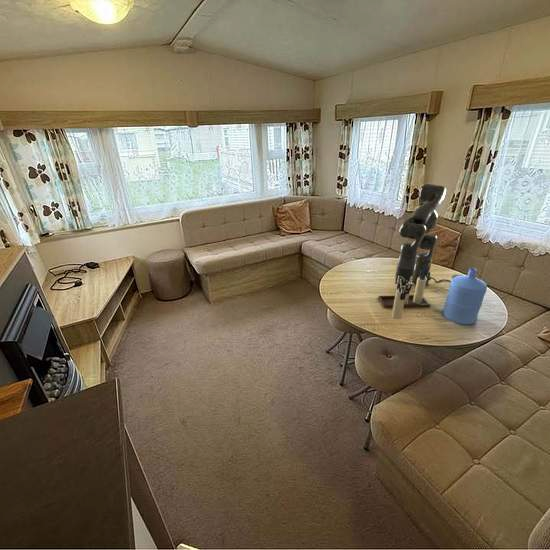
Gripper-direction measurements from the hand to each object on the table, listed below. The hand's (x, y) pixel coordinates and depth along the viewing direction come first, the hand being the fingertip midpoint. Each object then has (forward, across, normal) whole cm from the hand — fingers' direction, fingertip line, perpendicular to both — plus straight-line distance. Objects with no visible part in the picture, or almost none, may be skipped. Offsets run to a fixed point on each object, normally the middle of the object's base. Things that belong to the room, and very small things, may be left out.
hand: (400, 296), depth 146 cm
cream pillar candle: (+12, 0, 0) cm, 12 cm away
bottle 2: (+17, +22, -21) cm, 35 cm away
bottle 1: (+17, +22, -13) cm, 31 cm away
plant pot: (+18, +29, -49) cm, 60 cm away
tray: (+18, +22, -13) cm, 31 cm away
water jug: (+18, +7, -37) cm, 42 cm away
